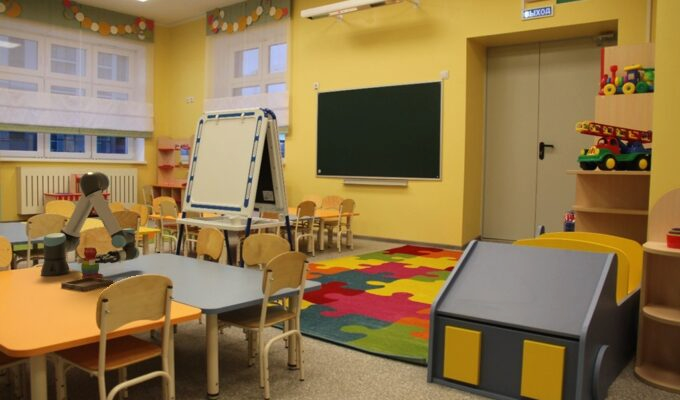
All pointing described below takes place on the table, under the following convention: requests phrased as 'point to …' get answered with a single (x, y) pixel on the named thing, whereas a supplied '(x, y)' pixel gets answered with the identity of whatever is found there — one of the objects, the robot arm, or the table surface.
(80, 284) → the dark brown square tray
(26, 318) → the table surface
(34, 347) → the table surface
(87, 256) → the stacking bear
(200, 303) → the table surface
